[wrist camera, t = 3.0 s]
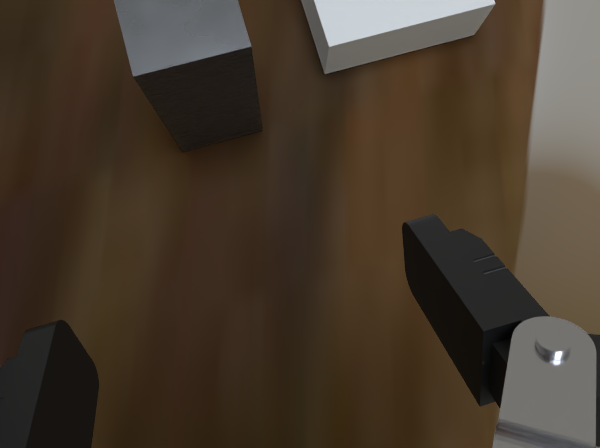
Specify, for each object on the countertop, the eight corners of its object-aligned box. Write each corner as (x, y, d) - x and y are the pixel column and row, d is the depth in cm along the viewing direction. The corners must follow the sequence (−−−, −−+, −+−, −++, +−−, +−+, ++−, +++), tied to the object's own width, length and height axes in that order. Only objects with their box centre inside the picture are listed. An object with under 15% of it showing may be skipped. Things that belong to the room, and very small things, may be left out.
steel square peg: (182, 152, 27) (133, 76, 19) (163, 77, 28) (106, -30, 19) (262, 130, 28) (251, 46, 19) (241, 57, 28) (220, -57, 20)
